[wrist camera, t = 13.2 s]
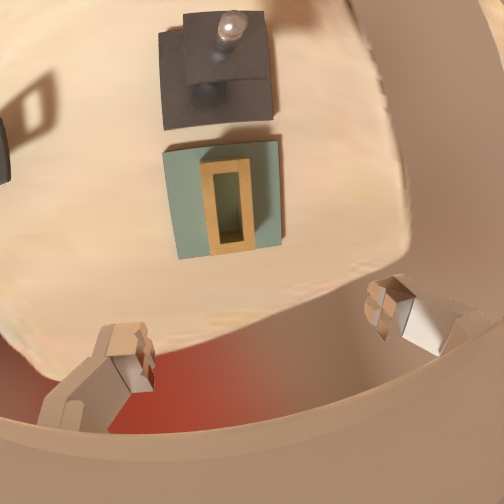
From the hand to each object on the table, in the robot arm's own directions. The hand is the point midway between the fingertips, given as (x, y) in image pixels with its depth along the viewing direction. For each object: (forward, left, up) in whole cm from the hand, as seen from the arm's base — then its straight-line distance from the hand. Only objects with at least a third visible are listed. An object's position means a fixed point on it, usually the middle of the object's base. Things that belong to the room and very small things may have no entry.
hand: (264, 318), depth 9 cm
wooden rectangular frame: (+2, +1, -24) cm, 24 cm away
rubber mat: (+2, +1, -25) cm, 25 cm away
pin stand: (-13, +1, -25) cm, 28 cm away
